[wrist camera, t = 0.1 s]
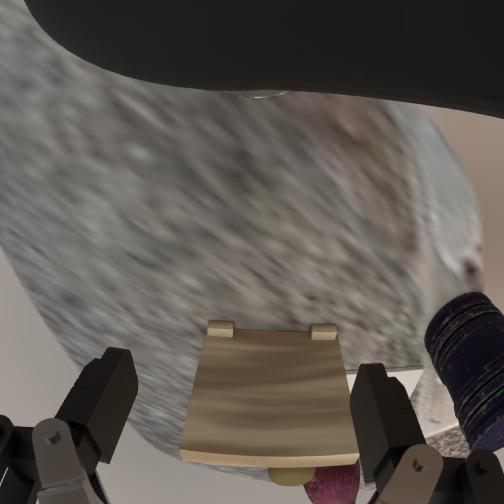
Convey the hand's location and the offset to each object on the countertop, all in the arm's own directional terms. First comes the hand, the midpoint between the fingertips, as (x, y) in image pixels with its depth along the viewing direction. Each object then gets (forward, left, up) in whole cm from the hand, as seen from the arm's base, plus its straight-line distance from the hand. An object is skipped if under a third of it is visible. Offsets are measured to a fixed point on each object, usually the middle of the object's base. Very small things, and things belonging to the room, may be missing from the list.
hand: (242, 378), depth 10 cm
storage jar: (+13, +24, -18) cm, 32 cm away
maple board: (+14, +2, -17) cm, 22 cm away
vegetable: (+45, +14, -18) cm, 50 cm away
